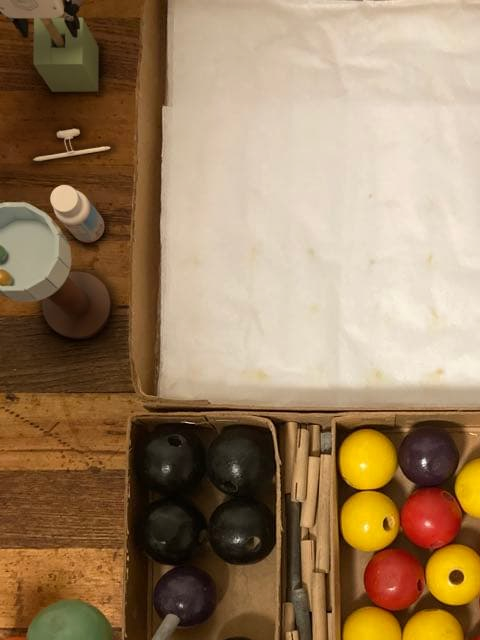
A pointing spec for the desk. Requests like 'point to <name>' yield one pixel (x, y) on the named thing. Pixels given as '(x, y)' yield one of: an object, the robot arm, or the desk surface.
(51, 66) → the stand
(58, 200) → the pill bottle
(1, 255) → the green bead
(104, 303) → the pedestal
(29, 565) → the desk surface
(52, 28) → the stick
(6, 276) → the yellow bead
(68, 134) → the picture light
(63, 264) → the bowl
